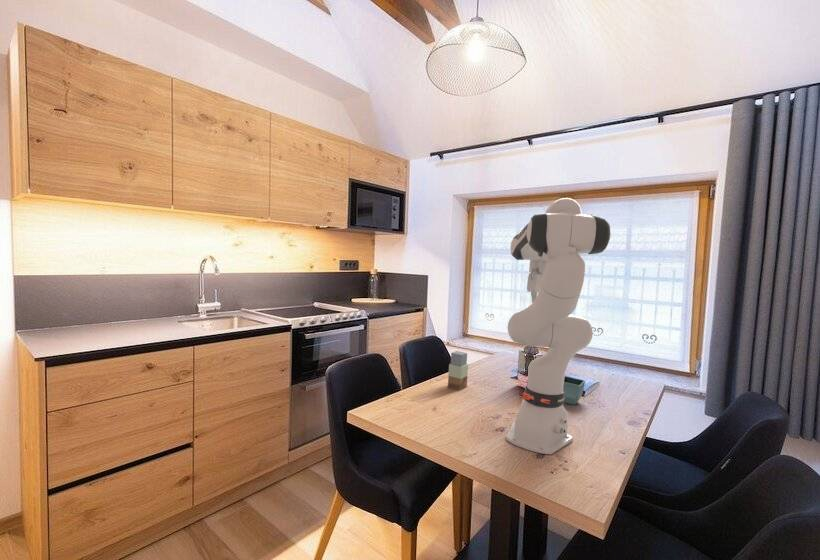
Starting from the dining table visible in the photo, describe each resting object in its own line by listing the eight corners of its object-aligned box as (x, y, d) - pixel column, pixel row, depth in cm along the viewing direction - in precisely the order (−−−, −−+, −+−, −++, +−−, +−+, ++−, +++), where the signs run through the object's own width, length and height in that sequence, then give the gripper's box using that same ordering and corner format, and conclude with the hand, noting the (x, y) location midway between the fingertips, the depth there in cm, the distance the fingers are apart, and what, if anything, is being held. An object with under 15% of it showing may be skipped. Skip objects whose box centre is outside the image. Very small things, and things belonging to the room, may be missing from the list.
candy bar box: (542, 392, 162) (544, 354, 161) (532, 393, 160) (535, 355, 159) (524, 384, 172) (527, 348, 171) (515, 385, 170) (518, 349, 169)
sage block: (460, 378, 159) (461, 367, 159) (448, 375, 163) (449, 364, 162) (467, 375, 164) (468, 364, 164) (455, 372, 167) (455, 361, 167)
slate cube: (460, 366, 159) (461, 355, 159) (450, 364, 162) (451, 352, 162) (466, 364, 163) (467, 353, 163) (456, 362, 166) (457, 350, 166)
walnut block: (460, 390, 159) (460, 378, 159) (447, 387, 163) (448, 375, 162) (466, 387, 164) (467, 375, 164) (454, 383, 168) (455, 372, 167)
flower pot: (578, 408, 146) (580, 385, 146) (555, 402, 151) (556, 380, 151) (583, 402, 153) (585, 380, 153) (561, 396, 158) (562, 375, 158)
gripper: (540, 268, 144) (537, 304, 145) (555, 269, 161) (553, 301, 162) (524, 268, 148) (521, 303, 149) (540, 268, 165) (538, 300, 165)
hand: (538, 302), depth 155 cm, fingers open, 8 cm apart
